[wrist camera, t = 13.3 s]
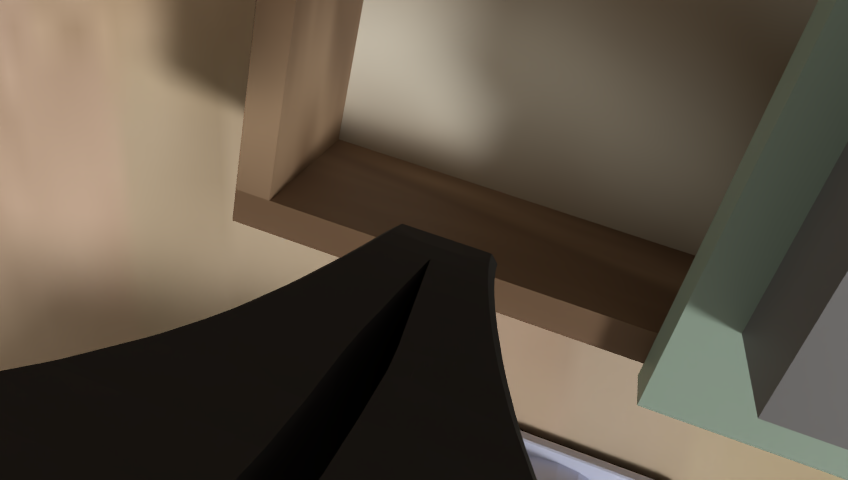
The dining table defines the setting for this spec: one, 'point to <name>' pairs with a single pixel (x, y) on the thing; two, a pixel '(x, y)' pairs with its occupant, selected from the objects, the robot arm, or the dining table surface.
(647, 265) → the brown wooden tray
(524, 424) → the dining table surface
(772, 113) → the lid
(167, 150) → the dining table surface
